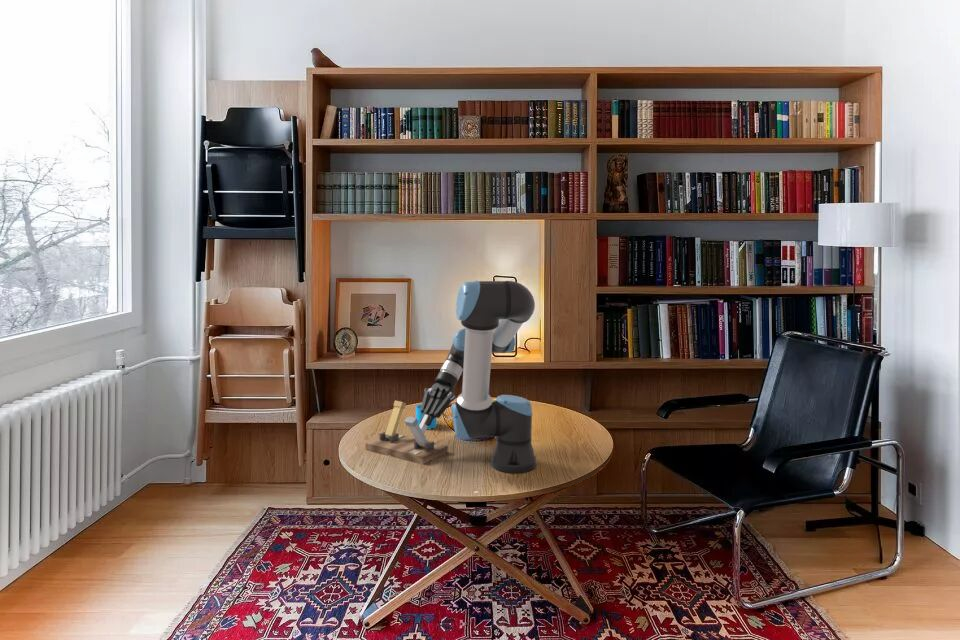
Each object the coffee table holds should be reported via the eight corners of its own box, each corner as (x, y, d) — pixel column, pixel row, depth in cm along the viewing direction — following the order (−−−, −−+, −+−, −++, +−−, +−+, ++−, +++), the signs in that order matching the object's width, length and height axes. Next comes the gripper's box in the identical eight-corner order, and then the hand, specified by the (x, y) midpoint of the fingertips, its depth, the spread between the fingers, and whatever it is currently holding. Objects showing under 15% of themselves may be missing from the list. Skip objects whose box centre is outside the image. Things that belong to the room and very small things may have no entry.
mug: (436, 429, 257) (436, 409, 256) (416, 430, 256) (415, 409, 255) (435, 420, 269) (435, 401, 267) (415, 421, 268) (415, 401, 267)
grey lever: (430, 444, 227) (416, 417, 219) (427, 450, 226) (412, 423, 217) (422, 442, 229) (408, 416, 221) (419, 448, 228) (404, 421, 219)
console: (447, 452, 230) (447, 439, 230) (423, 464, 219) (423, 450, 218) (391, 439, 244) (391, 426, 244) (365, 449, 233) (365, 436, 232)
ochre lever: (394, 440, 235) (406, 403, 239) (390, 439, 233) (402, 401, 237) (386, 438, 237) (398, 402, 241) (382, 437, 235) (394, 400, 239)
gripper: (467, 384, 235) (439, 441, 224) (438, 379, 242) (410, 434, 231) (459, 373, 230) (430, 430, 219) (429, 368, 237) (400, 423, 226)
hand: (420, 432), depth 225 cm, fingers closed
